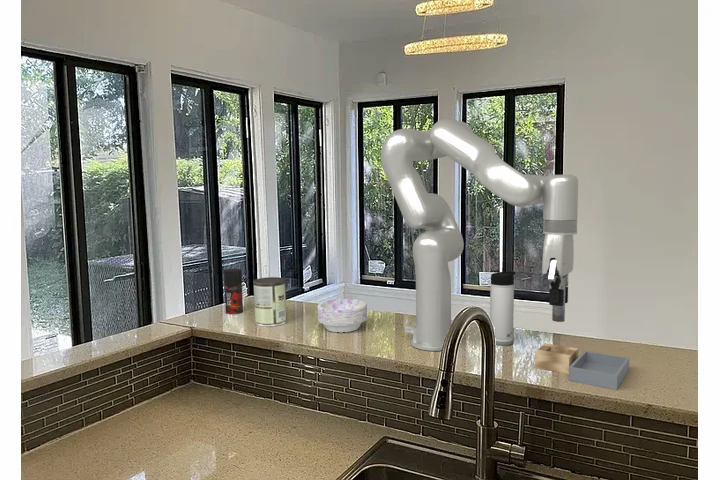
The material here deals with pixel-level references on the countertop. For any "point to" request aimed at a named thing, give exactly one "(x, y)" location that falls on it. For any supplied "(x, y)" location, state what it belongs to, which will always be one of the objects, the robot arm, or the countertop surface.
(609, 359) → the tray
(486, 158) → the robot arm
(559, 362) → the block
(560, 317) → the cylinder
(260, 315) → the coffee can
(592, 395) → the countertop surface
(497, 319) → the travel mug
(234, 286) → the deodorant
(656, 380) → the countertop surface
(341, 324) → the paper bowls
